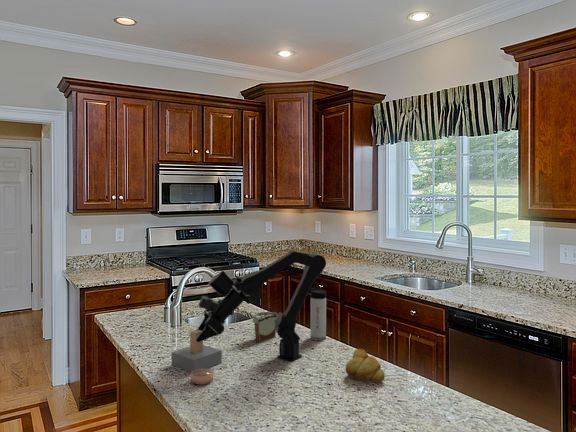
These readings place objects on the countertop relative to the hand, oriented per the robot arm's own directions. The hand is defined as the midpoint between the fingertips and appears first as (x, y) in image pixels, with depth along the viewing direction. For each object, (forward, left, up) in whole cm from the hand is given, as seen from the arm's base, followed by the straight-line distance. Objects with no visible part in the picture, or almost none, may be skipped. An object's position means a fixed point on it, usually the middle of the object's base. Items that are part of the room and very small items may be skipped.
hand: (196, 337), depth 161 cm
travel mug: (-16, -50, -10) cm, 53 cm away
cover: (0, 0, -9) cm, 9 cm away
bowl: (-13, +9, -9) cm, 18 cm away
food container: (+1, -35, -10) cm, 36 cm away
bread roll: (-51, -25, -10) cm, 58 cm away
